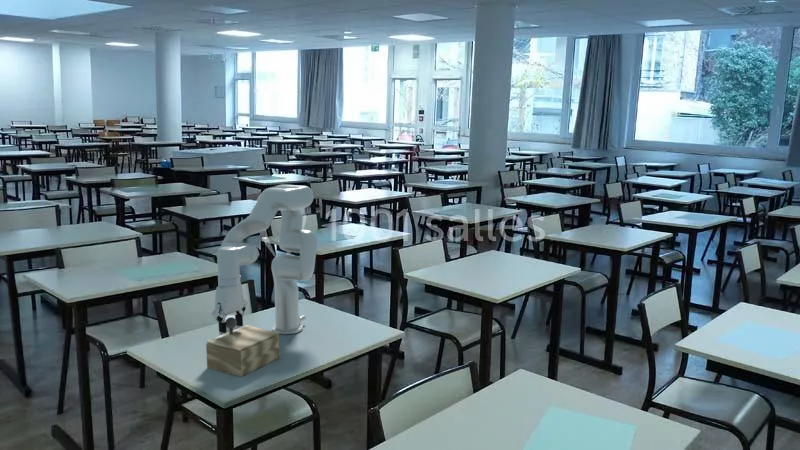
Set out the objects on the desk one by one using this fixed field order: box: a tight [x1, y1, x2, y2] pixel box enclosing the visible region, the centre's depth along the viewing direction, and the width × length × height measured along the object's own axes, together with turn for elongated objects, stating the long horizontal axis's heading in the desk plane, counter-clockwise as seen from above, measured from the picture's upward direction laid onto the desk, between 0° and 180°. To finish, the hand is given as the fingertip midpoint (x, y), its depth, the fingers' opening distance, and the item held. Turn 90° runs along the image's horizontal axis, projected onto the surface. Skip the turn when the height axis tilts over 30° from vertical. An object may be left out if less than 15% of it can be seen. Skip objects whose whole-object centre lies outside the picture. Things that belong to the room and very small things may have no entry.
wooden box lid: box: [206, 317, 280, 351], centre depth 223 cm, size 20×16×7 cm
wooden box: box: [205, 334, 281, 378], centre depth 225 cm, size 20×16×9 cm
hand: (231, 328), depth 226 cm, fingers open, 7 cm apart
